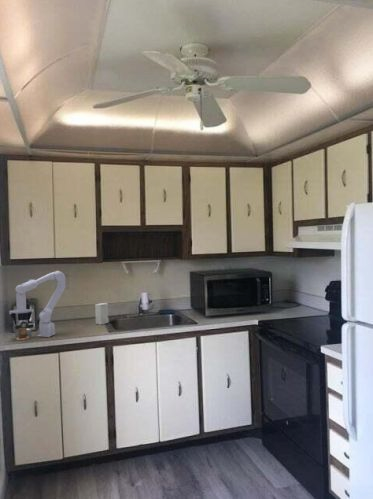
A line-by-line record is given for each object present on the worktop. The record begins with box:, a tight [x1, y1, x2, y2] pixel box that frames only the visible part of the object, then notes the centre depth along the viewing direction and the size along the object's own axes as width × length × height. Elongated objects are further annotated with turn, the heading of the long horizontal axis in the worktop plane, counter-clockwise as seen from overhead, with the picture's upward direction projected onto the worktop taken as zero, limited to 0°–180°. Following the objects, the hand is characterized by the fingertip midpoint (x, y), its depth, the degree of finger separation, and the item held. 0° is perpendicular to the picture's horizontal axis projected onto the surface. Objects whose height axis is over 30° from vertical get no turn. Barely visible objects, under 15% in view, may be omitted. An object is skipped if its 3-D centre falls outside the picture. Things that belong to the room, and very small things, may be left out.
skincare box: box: [94, 302, 109, 325], centre depth 303 cm, size 8×6×15 cm
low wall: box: [14, 330, 32, 338], centre depth 271 cm, size 10×1×3 cm, turn 108°
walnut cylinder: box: [17, 327, 28, 339], centre depth 265 cm, size 5×5×6 cm
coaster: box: [15, 335, 30, 341], centre depth 265 cm, size 8×8×1 cm
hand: (22, 324), depth 265 cm, fingers open, 7 cm apart
